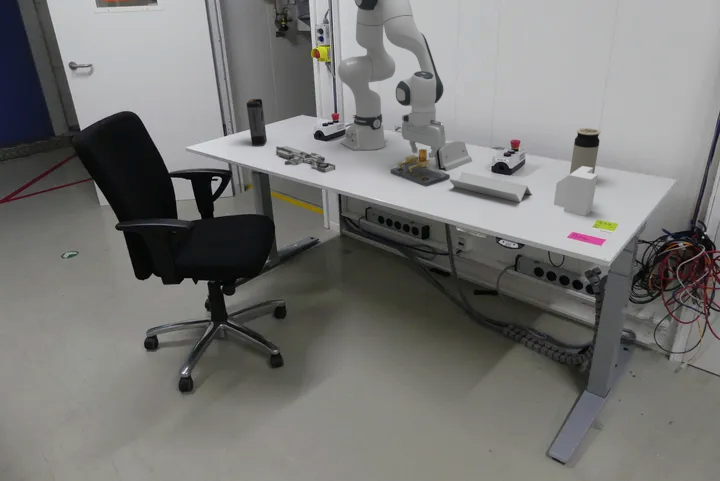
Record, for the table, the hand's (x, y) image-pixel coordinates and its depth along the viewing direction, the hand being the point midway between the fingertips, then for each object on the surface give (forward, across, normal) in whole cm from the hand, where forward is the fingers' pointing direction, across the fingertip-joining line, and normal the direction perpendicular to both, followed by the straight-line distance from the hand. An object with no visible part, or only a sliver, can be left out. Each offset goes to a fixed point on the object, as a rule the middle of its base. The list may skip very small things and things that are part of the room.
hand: (423, 154), depth 197 cm
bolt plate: (+8, -1, +2) cm, 8 cm away
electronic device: (+7, +84, +26) cm, 89 cm away
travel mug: (+8, -44, -37) cm, 58 cm away
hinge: (+8, +1, -17) cm, 18 cm away
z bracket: (+8, -29, -4) cm, 31 cm away
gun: (+8, +48, +26) cm, 55 cm away
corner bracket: (+8, -56, -14) cm, 58 cm away
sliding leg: (+6, 0, +2) cm, 6 cm away
